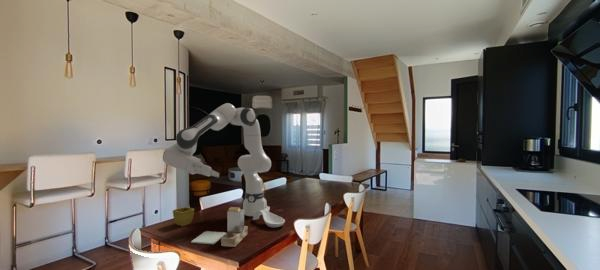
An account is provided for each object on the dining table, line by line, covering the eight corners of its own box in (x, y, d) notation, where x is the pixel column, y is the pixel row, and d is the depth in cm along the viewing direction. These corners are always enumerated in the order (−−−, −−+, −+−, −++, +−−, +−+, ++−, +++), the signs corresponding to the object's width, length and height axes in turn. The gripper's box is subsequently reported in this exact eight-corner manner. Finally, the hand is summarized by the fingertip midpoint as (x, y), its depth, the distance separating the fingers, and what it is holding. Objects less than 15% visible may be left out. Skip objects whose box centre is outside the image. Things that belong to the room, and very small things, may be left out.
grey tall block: (231, 227, 144) (231, 206, 144) (244, 228, 143) (244, 207, 143) (227, 231, 139) (227, 209, 139) (240, 232, 138) (240, 209, 138)
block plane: (235, 232, 149) (235, 222, 149) (247, 233, 148) (247, 223, 148) (221, 245, 133) (221, 234, 133) (234, 246, 131) (234, 235, 131)
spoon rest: (289, 226, 160) (288, 213, 160) (274, 231, 152) (274, 218, 152) (262, 217, 176) (262, 206, 176) (247, 222, 167) (247, 210, 167)
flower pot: (185, 221, 168) (185, 206, 168) (194, 223, 164) (194, 208, 164) (172, 225, 161) (172, 210, 161) (181, 228, 156) (181, 212, 156)
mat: (205, 232, 150) (205, 231, 150) (226, 233, 148) (226, 232, 148) (191, 242, 136) (191, 241, 136) (213, 244, 134) (213, 243, 134)
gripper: (194, 157, 135) (221, 168, 138) (198, 162, 155) (221, 171, 157) (188, 169, 133) (216, 180, 136) (193, 172, 153) (216, 182, 155)
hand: (219, 175), depth 146 cm, fingers open, 8 cm apart
